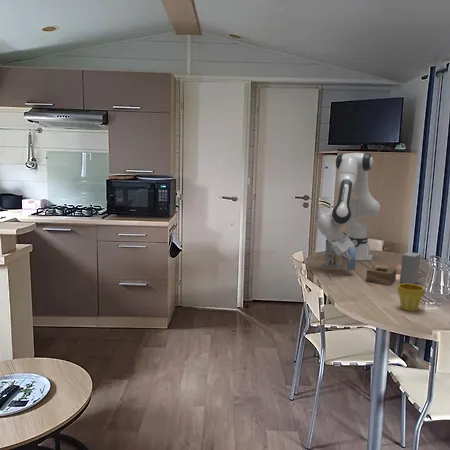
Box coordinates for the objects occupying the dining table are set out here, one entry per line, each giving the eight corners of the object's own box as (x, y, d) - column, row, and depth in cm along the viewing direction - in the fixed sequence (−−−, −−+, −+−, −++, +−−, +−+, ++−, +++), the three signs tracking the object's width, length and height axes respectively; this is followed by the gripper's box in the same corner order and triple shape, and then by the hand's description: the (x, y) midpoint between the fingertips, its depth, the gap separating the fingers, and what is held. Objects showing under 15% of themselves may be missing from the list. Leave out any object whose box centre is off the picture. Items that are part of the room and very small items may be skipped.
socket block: (372, 276, 238) (373, 266, 237) (395, 280, 231) (396, 269, 230) (366, 281, 228) (366, 270, 227) (389, 285, 222) (390, 274, 221)
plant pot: (427, 312, 183) (429, 289, 181) (403, 312, 182) (405, 290, 180) (414, 304, 193) (416, 283, 191) (392, 304, 192) (393, 283, 191)
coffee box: (333, 263, 268) (334, 237, 266) (342, 265, 264) (343, 239, 261) (324, 265, 262) (325, 239, 260) (333, 267, 258) (334, 241, 255)
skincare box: (405, 280, 232) (407, 251, 230) (419, 282, 227) (421, 253, 225) (398, 283, 226) (400, 253, 224) (412, 286, 221) (414, 255, 219)
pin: (348, 267, 244) (349, 246, 242) (356, 268, 241) (357, 247, 239) (346, 269, 240) (347, 248, 238) (353, 270, 238) (354, 248, 236)
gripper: (333, 238, 233) (350, 258, 229) (346, 232, 250) (362, 251, 246) (325, 245, 237) (342, 265, 233) (339, 239, 253) (354, 257, 249)
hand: (352, 257), depth 240 cm, fingers closed on pin, 4 cm apart
